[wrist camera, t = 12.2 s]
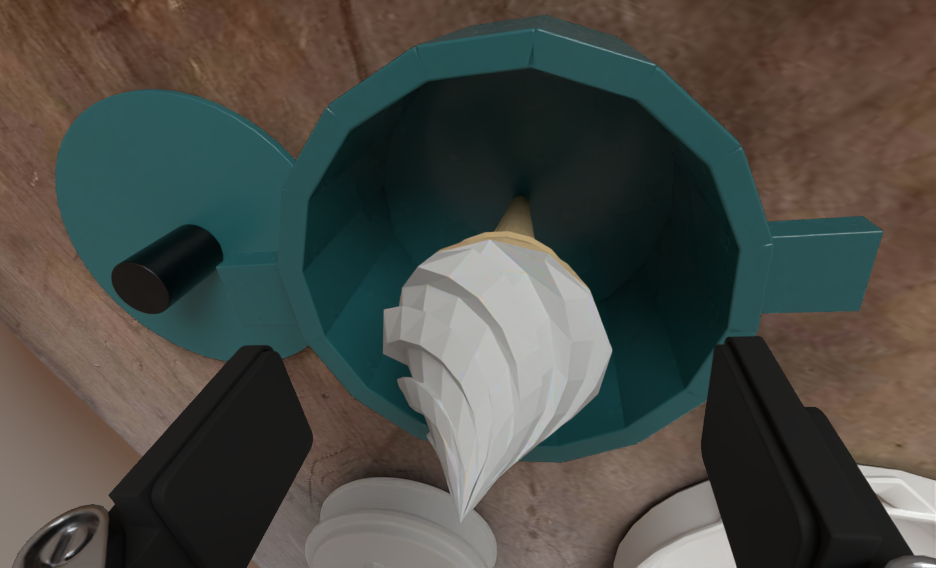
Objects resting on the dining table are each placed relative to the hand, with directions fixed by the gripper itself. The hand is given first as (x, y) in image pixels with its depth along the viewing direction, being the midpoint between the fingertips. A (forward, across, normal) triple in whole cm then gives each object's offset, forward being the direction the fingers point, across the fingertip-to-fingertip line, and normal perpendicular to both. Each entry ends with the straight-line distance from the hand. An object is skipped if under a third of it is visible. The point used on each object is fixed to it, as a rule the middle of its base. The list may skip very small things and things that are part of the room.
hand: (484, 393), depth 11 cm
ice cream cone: (+12, 0, 0) cm, 12 cm away
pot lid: (+12, +16, +1) cm, 20 cm away
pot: (+12, 0, 0) cm, 13 cm away
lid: (+13, +10, +24) cm, 29 cm away
